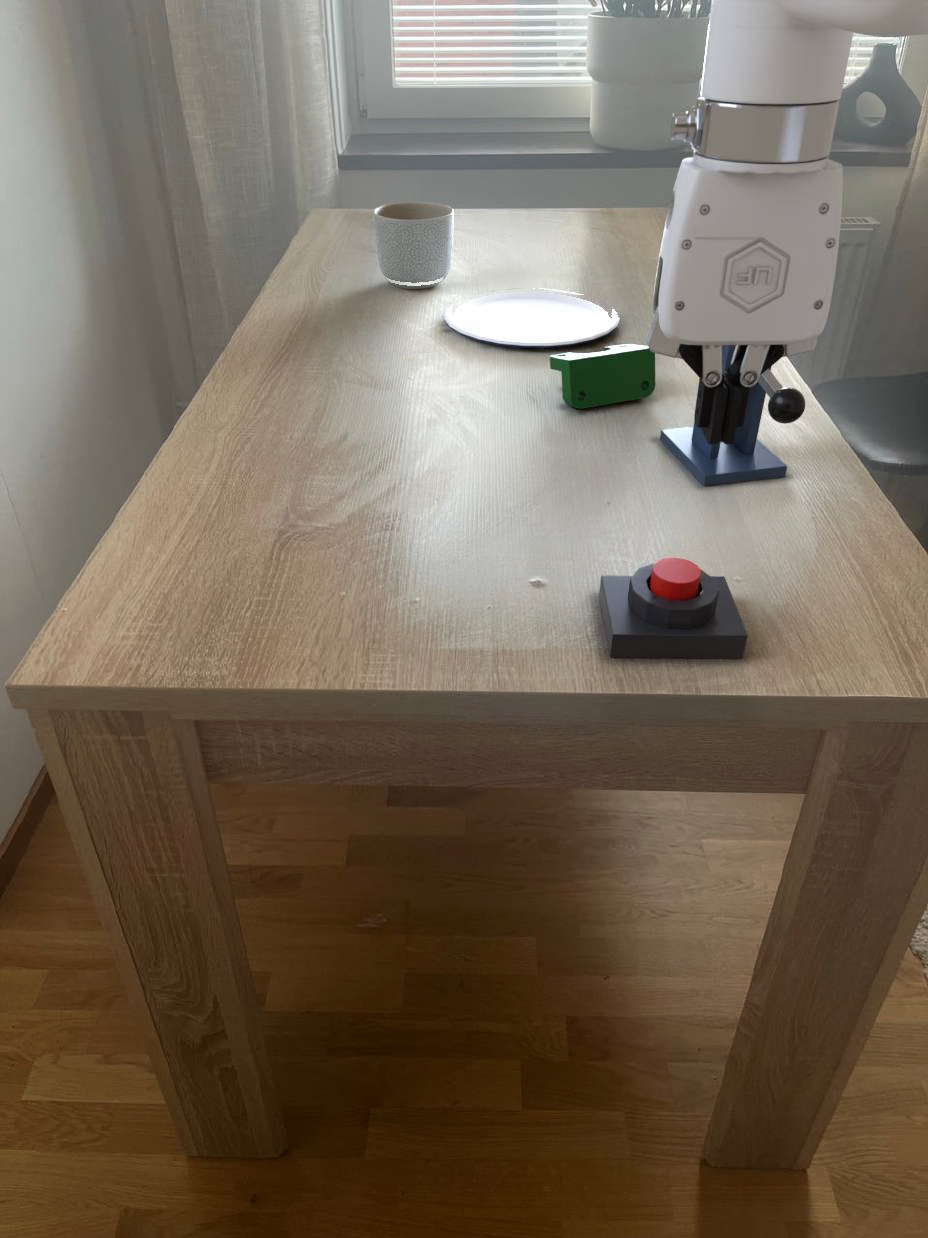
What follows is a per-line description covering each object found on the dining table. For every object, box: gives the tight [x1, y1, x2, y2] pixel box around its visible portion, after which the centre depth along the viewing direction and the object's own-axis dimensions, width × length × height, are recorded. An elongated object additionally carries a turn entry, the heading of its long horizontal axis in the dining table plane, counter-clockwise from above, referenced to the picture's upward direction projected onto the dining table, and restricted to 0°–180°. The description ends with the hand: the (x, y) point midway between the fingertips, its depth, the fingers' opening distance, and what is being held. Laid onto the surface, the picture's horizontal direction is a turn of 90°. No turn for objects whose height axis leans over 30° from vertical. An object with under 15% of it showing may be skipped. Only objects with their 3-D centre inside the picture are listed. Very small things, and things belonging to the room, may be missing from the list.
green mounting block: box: [549, 343, 656, 410], centre depth 108 cm, size 12×6×9 cm, turn 106°
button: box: [650, 557, 701, 601], centre depth 70 cm, size 4×4×2 cm
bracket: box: [659, 345, 788, 487], centre depth 93 cm, size 11×9×14 cm
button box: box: [598, 562, 748, 660], centre depth 71 cm, size 10×8×4 cm
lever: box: [758, 369, 806, 425], centre depth 86 cm, size 13×3×3 cm, turn 13°
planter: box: [372, 201, 455, 290], centre depth 144 cm, size 12×12×11 cm
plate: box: [443, 287, 621, 349], centre depth 131 cm, size 25×25×1 cm
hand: (716, 435), depth 63 cm, fingers closed
